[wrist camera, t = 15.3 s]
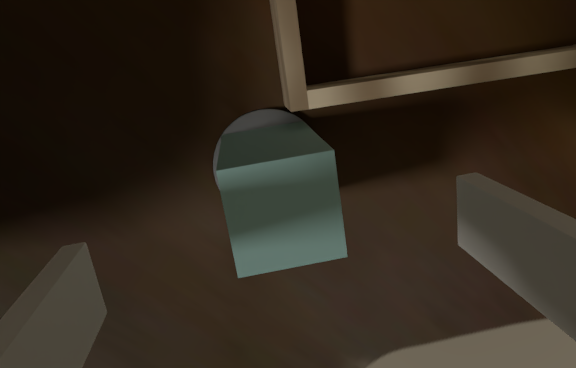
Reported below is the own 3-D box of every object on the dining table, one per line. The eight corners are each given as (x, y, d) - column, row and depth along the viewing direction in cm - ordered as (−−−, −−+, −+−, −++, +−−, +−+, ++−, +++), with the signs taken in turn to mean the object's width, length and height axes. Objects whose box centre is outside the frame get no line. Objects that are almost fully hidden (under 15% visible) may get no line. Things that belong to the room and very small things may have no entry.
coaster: (224, 223, 29) (224, 226, 28) (203, 117, 27) (203, 119, 26) (328, 205, 29) (330, 208, 29) (315, 100, 27) (317, 101, 27)
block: (237, 211, 28) (238, 278, 20) (222, 134, 27) (215, 170, 18) (313, 197, 28) (347, 256, 20) (302, 120, 27) (334, 149, 18)
